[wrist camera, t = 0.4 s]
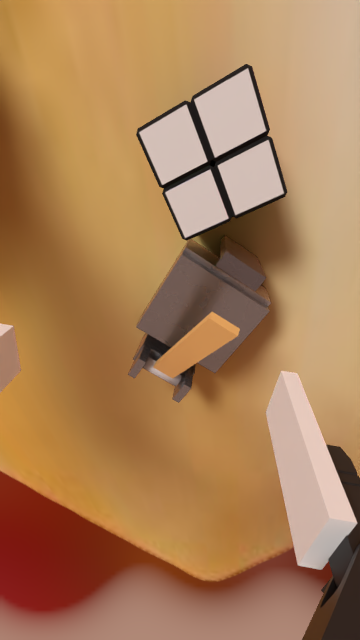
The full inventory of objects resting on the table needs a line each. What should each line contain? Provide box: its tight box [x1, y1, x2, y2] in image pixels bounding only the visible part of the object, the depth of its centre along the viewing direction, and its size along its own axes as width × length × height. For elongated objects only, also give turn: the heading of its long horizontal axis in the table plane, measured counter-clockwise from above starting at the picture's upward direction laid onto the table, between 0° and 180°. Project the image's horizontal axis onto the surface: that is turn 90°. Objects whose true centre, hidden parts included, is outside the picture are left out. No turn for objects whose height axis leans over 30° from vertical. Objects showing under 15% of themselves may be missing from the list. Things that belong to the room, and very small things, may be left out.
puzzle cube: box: [136, 64, 287, 240], centre depth 29 cm, size 10×10×10 cm
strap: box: [143, 312, 240, 386], centre depth 32 cm, size 5×17×2 cm
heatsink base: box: [128, 235, 271, 403], centre depth 37 cm, size 12×19×9 cm, turn 148°
